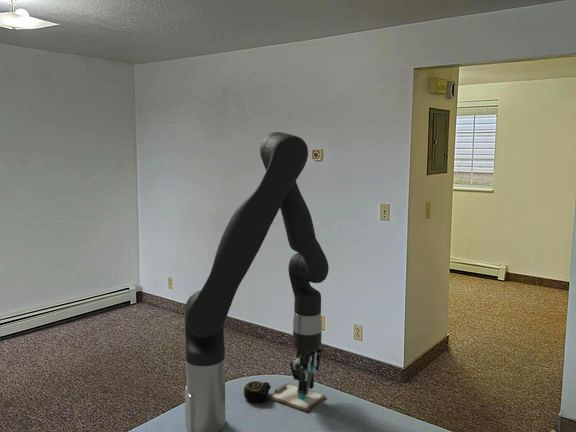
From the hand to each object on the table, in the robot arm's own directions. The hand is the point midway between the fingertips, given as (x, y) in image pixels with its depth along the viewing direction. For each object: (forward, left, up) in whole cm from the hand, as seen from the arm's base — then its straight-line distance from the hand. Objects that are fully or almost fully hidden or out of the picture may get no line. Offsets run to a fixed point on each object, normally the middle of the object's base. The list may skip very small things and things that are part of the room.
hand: (306, 389), depth 133 cm
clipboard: (-2, +2, -3) cm, 4 cm away
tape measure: (-11, +6, -4) cm, 13 cm away
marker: (-1, +1, -2) cm, 3 cm away
